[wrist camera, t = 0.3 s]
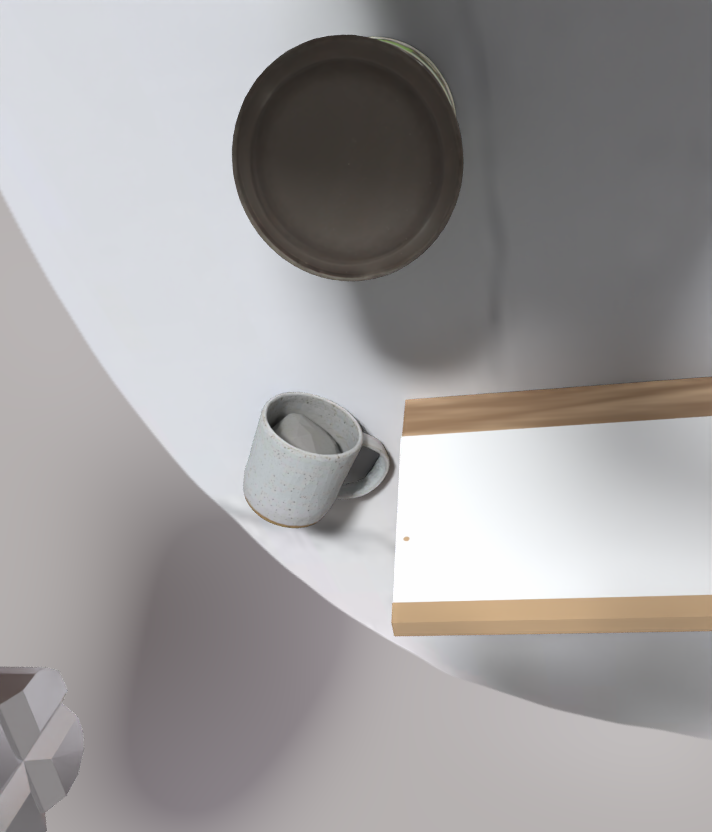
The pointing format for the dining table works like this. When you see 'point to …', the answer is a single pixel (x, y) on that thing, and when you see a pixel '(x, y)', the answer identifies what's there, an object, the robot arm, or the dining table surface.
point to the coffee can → (349, 156)
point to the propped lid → (556, 530)
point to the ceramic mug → (306, 460)
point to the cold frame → (559, 407)
